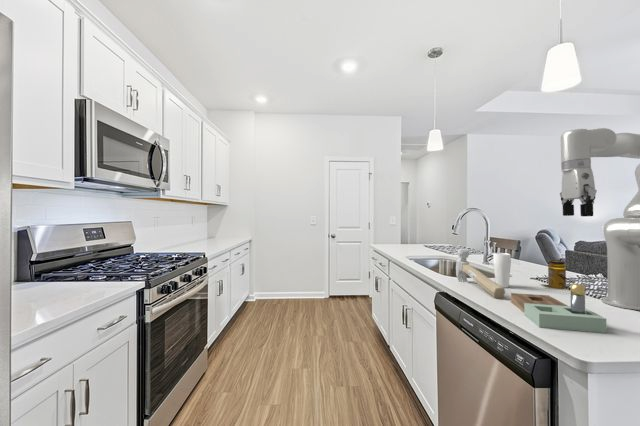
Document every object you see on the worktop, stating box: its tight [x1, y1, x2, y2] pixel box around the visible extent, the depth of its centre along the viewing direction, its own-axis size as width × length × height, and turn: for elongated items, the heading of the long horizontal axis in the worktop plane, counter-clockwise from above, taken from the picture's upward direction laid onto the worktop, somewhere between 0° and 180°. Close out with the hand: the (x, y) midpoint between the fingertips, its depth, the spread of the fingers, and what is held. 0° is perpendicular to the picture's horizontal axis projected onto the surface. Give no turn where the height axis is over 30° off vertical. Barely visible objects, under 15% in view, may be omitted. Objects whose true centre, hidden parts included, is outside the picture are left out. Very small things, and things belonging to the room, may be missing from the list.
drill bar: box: [570, 283, 586, 314], centre depth 84 cm, size 3×3×12 cm
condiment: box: [540, 259, 570, 291], centre depth 126 cm, size 7×8×12 cm
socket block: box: [510, 292, 568, 313], centre depth 98 cm, size 12×12×4 cm
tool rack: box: [523, 303, 607, 334], centre depth 85 cm, size 16×10×4 cm, turn 74°
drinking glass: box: [492, 252, 512, 289], centre depth 128 cm, size 7×7×15 cm
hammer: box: [455, 248, 506, 299], centre depth 124 cm, size 16×5×30 cm
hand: (577, 215), depth 96 cm, fingers open, 9 cm apart
